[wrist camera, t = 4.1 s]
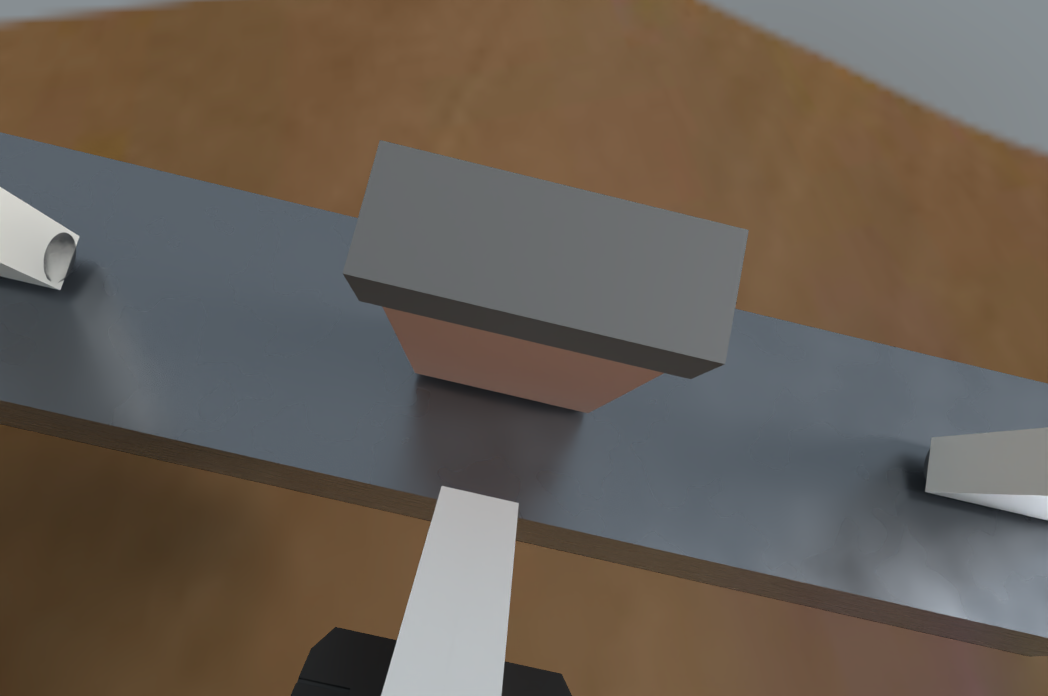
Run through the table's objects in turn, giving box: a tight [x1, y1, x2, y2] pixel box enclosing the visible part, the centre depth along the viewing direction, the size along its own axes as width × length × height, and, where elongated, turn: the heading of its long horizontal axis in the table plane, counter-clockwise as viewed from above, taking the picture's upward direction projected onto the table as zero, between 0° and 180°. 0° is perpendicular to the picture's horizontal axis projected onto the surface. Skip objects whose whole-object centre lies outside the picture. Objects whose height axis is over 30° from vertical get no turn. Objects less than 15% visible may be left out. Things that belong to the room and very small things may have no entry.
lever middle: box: [343, 140, 749, 413], centre depth 16 cm, size 2×5×11 cm, turn 79°
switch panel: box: [0, 133, 1048, 656], centre depth 23 cm, size 8×36×3 cm, turn 79°
